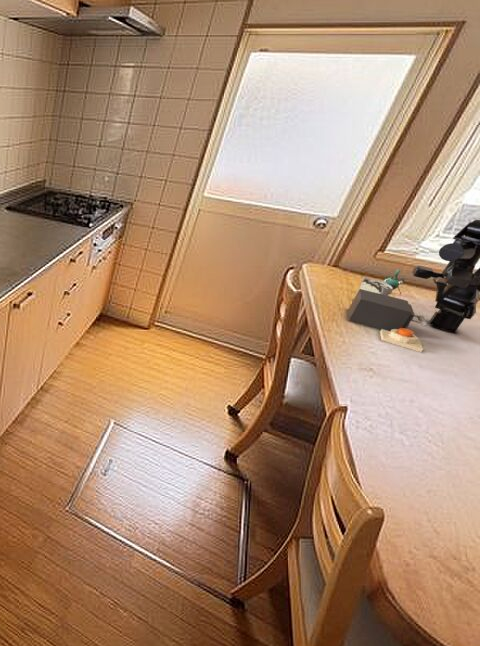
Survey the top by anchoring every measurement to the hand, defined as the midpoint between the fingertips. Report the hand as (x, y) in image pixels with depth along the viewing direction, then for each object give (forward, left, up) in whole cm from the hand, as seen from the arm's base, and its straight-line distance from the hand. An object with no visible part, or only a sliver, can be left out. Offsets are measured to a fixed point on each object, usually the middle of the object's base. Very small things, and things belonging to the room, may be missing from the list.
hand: (437, 301), depth 145 cm
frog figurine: (+9, -26, -12) cm, 30 cm away
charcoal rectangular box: (+13, +4, -12) cm, 18 cm away
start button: (+6, +16, -9) cm, 20 cm away
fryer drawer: (+9, +4, -11) cm, 15 cm away
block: (+6, +16, -12) cm, 21 cm away
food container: (+13, -13, -12) cm, 22 cm away
